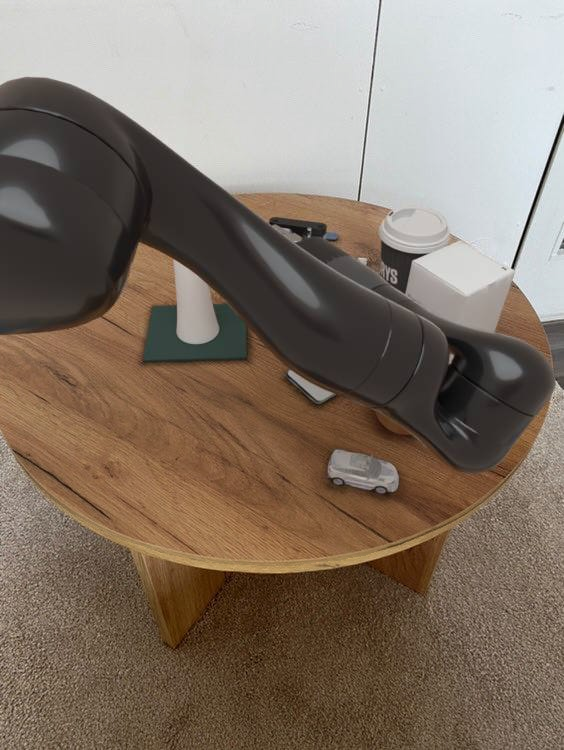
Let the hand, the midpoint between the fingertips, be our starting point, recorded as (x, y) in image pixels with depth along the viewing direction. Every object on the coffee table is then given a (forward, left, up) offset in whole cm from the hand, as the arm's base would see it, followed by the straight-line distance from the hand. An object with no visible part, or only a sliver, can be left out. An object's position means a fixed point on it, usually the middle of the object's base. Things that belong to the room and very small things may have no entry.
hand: (227, 218), depth 62 cm
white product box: (+27, +1, -22) cm, 35 cm away
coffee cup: (+24, +12, -23) cm, 35 cm away
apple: (+20, -10, -23) cm, 32 cm away
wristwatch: (+7, +34, -23) cm, 42 cm away
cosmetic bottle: (-6, +8, -22) cm, 24 cm away
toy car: (+14, -18, -23) cm, 32 cm away
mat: (-6, +8, -22) cm, 25 cm away
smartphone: (+14, 0, -23) cm, 27 cm away
